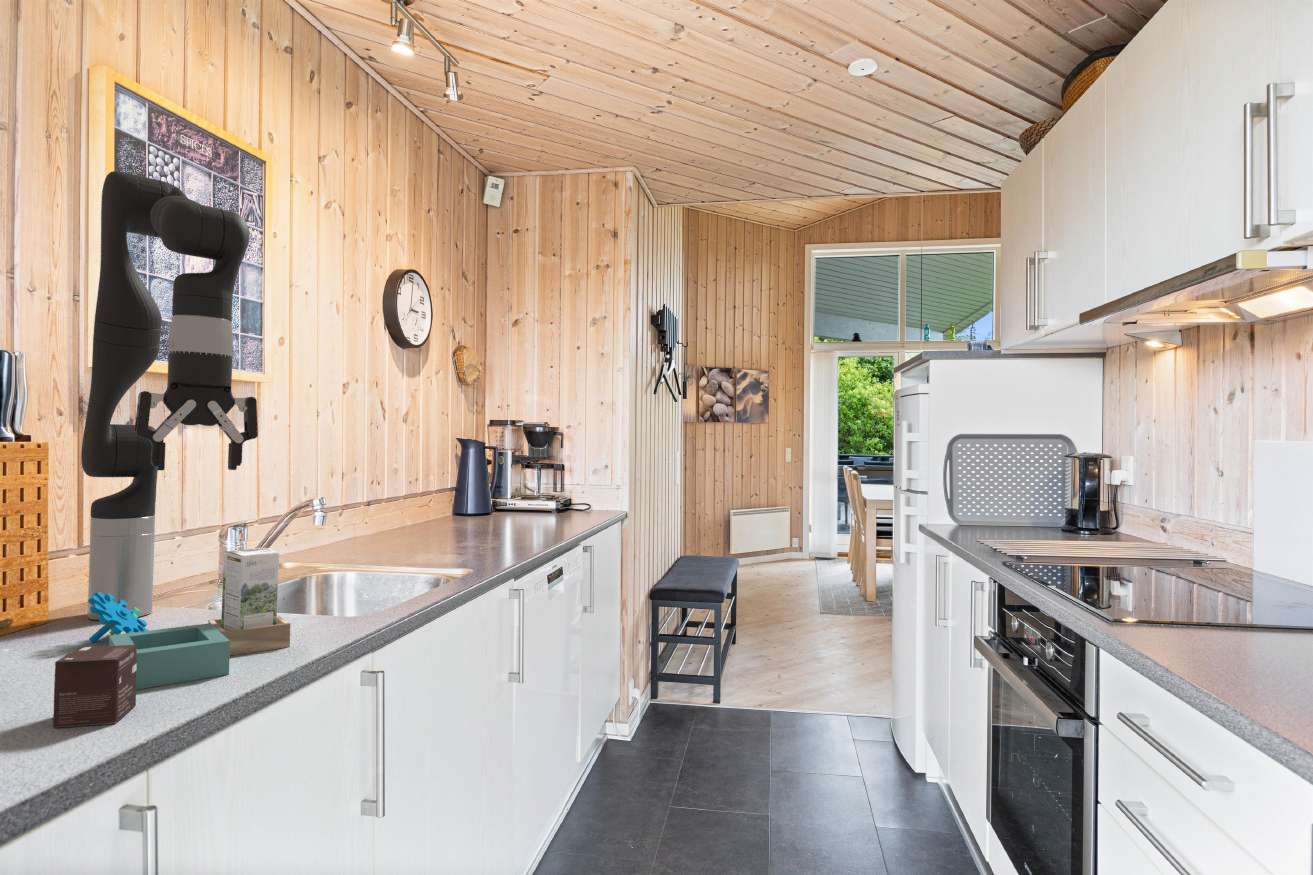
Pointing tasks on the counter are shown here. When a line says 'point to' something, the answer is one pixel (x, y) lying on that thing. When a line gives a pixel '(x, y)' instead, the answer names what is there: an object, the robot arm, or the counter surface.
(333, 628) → the counter surface
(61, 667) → the box
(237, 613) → the syrup box
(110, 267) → the robot arm
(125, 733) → the counter surface
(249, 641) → the stand collar
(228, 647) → the teal square frame
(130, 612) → the gear
